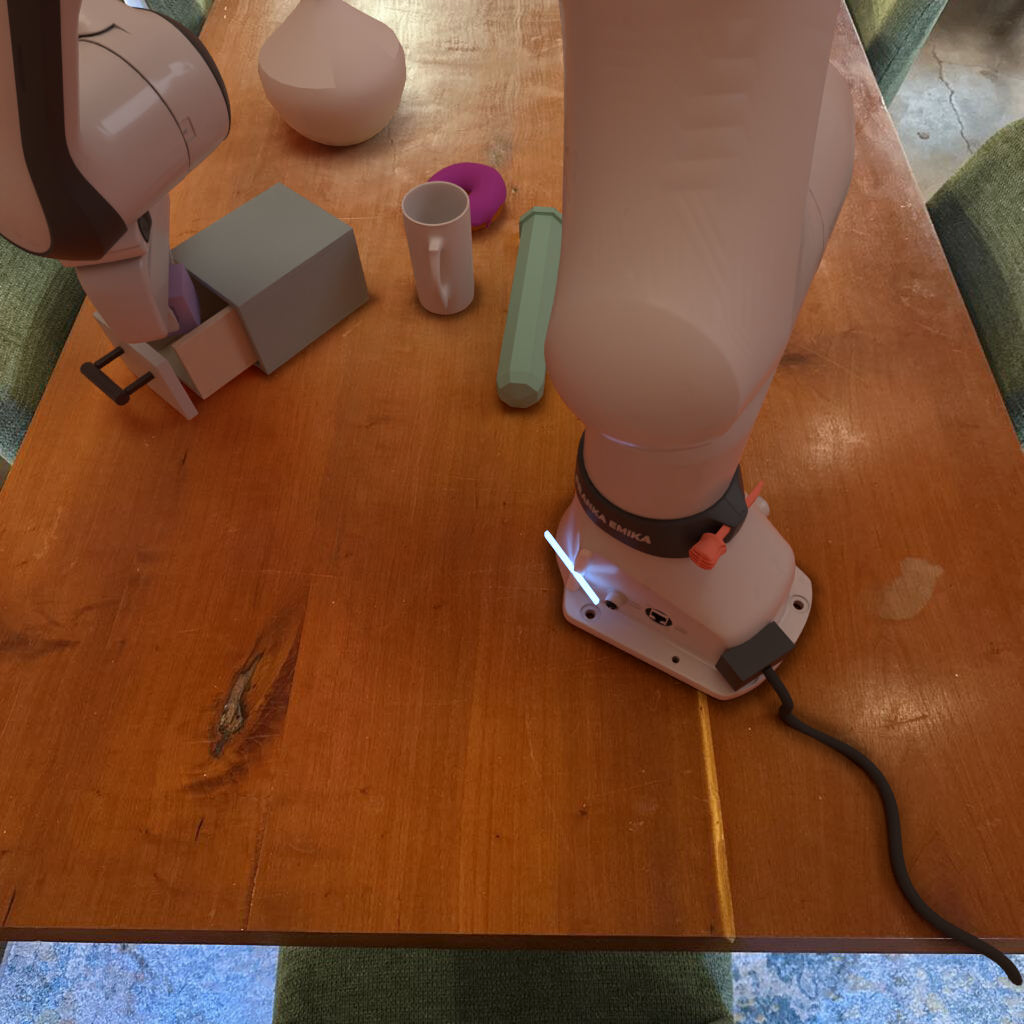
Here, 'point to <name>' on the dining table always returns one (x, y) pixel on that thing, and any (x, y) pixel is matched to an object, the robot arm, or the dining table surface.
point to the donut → (477, 190)
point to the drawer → (180, 357)
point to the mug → (440, 245)
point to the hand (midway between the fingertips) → (171, 305)
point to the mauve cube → (183, 299)
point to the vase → (333, 72)
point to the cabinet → (279, 271)
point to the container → (530, 308)
